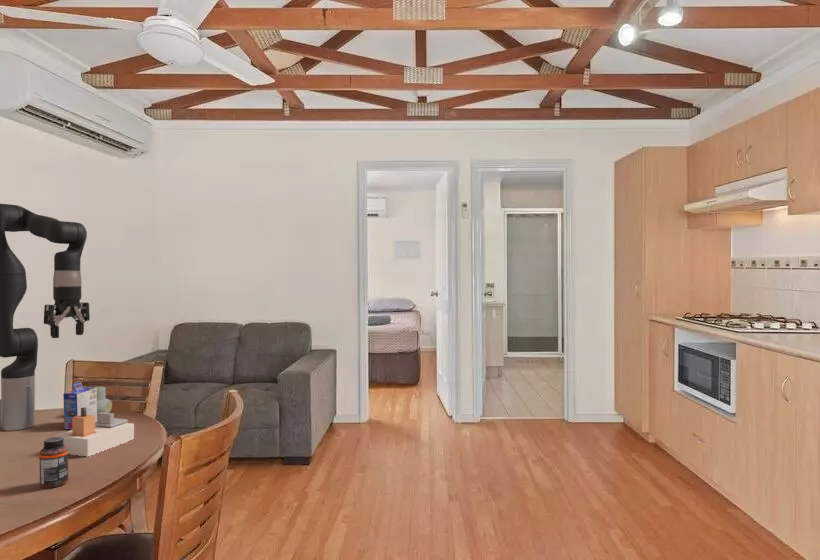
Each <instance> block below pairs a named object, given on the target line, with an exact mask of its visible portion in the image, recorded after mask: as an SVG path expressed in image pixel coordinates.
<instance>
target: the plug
mask: <svg viewBox="0 0 820 560" xmlns="http://www.w3.org/2000/svg"><path fill="white" fill-rule="evenodd" d="M71 430H73V436H79V437H85V436H88V435H91V434H94V433H95V415H89V414H86V407H83V408H81V415H78V416H75V417H72V429H71Z"/></svg>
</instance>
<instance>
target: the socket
mask: <svg viewBox="0 0 820 560" xmlns="http://www.w3.org/2000/svg"><path fill="white" fill-rule="evenodd" d="M54 437H62V438H63V442H64V443H63V444H64V445H65V446H67V448H68V455H69V454H70V456H76V455H78V456H79V457H84V456H86V458H89V457H92V456H94V455H96V453H97V454H99V452H100V453H102V452H104V450H105V451H107V449H108V450H110V449H113V448H115V447H119V446H121V445H123V444H125V443H129V442H131V441H133V439H134V440H135V423H131V422H125V423H122V424H119V425H116V426H113V427H107V426H98V425H95V433H94V434H91V435H88V436H85V437H79V436H73V430H72V429H70V430H69V431H65V432H62V433H58V434H56V435H54ZM130 440H131V441H130ZM128 441H129V442H128ZM120 444H121V445H120ZM112 447H113V448H112ZM109 448H110V449H109ZM101 451H102V452H101ZM91 455H92V456H91ZM78 456H77V457H78ZM88 456H89V457H88Z"/></svg>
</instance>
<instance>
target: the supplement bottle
mask: <svg viewBox="0 0 820 560" xmlns="http://www.w3.org/2000/svg"><path fill="white" fill-rule="evenodd" d="M63 443H64V442H63V438H62V437H55V436H53V437H47V438H46V439H44V441H43V448H42V449H40V450H39V486H40V488H43V489H54V488H58V487H62V486H64V485H65V484H66V483H68V481H69V454H68V448H67V446H65V445H64V444H63Z"/></svg>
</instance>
